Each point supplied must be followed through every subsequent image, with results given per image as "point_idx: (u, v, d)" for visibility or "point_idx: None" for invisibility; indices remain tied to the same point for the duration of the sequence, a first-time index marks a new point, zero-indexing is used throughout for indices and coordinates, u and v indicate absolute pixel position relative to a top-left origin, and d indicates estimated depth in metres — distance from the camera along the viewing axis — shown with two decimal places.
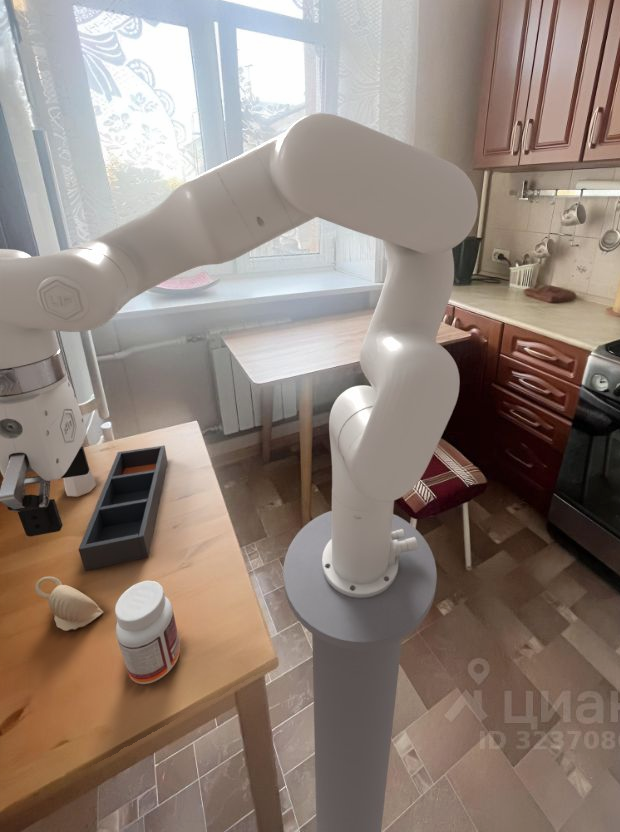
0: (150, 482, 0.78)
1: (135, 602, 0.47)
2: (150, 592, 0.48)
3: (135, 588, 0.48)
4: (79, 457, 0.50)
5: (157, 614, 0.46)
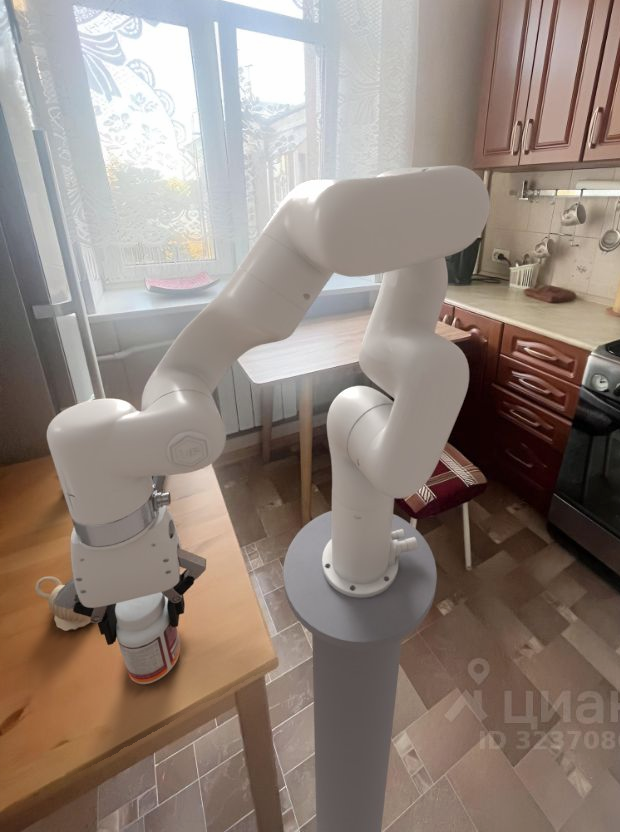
0: None
1: (135, 602, 0.46)
2: None
3: None
4: (115, 606, 0.48)
5: (157, 614, 0.46)
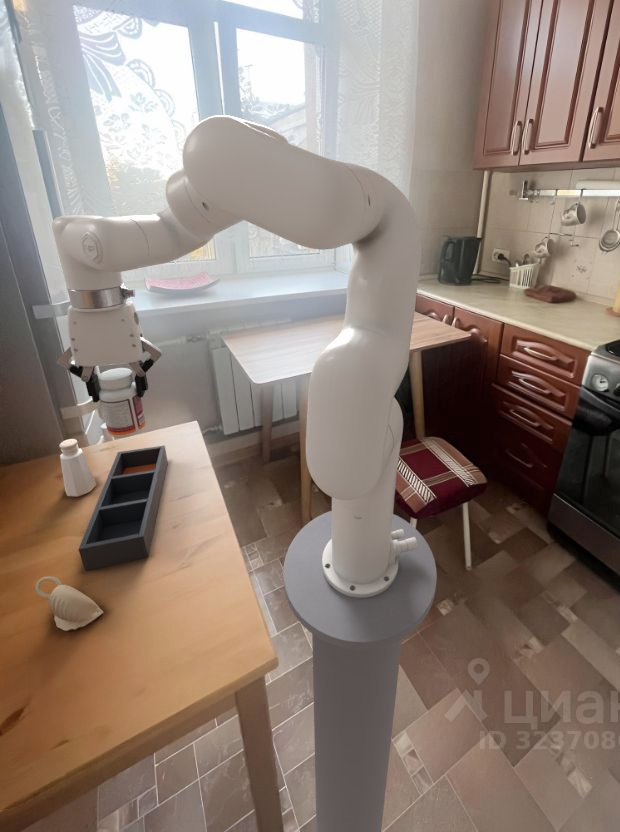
0: (150, 482, 0.78)
1: (112, 374, 0.67)
2: (123, 371, 0.69)
3: (112, 370, 0.69)
4: None
5: (127, 382, 0.67)
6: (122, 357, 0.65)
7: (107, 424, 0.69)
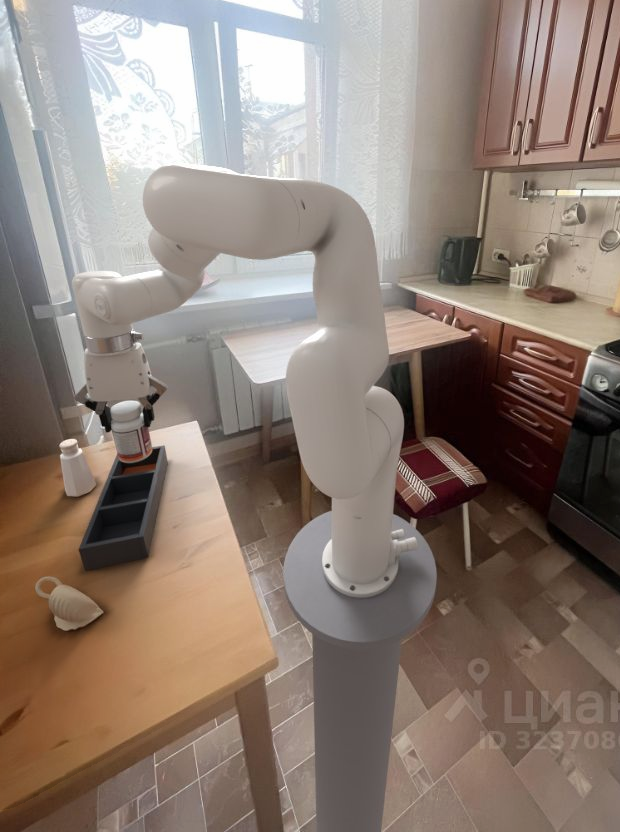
0: (150, 482, 0.78)
1: (122, 407, 0.75)
2: (132, 404, 0.77)
3: (123, 402, 0.77)
4: None
5: (136, 414, 0.75)
6: (132, 393, 0.73)
7: (118, 451, 0.77)
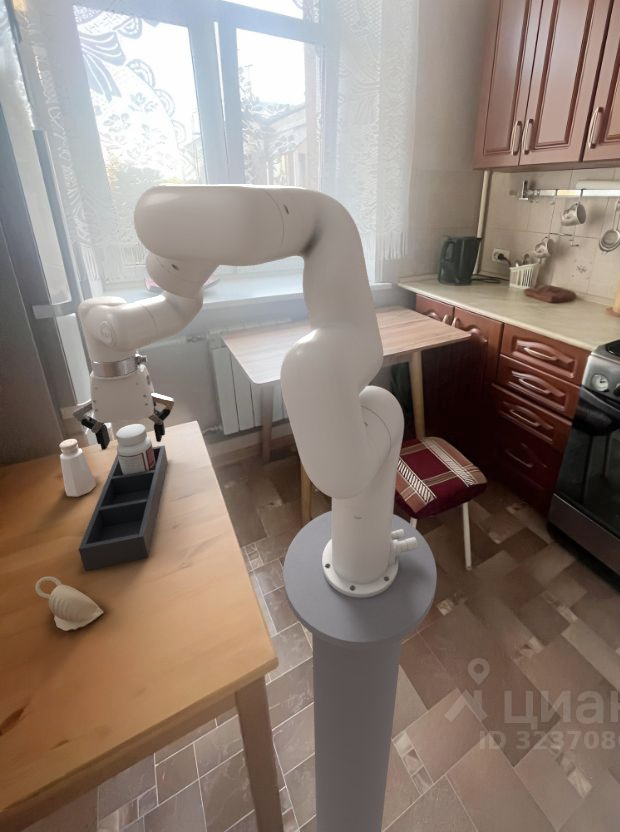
0: (150, 482, 0.78)
1: (128, 431, 0.77)
2: (137, 428, 0.79)
3: (128, 426, 0.79)
4: (106, 429, 0.78)
5: (141, 438, 0.77)
6: (136, 414, 0.75)
7: (123, 474, 0.79)
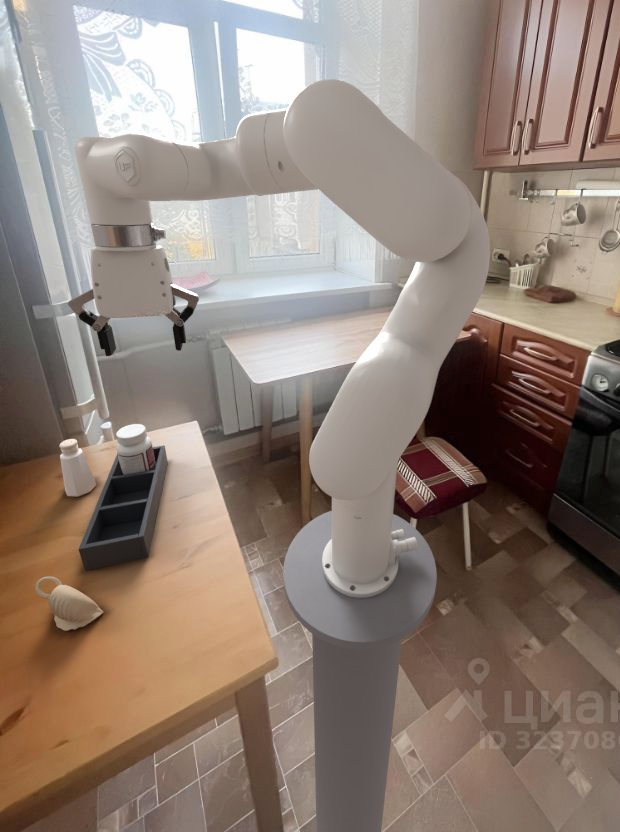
0: (150, 482, 0.78)
1: (128, 431, 0.78)
2: (137, 428, 0.79)
3: (128, 426, 0.79)
4: (112, 332, 0.60)
5: (141, 438, 0.77)
6: (151, 308, 0.58)
7: (124, 474, 0.79)
